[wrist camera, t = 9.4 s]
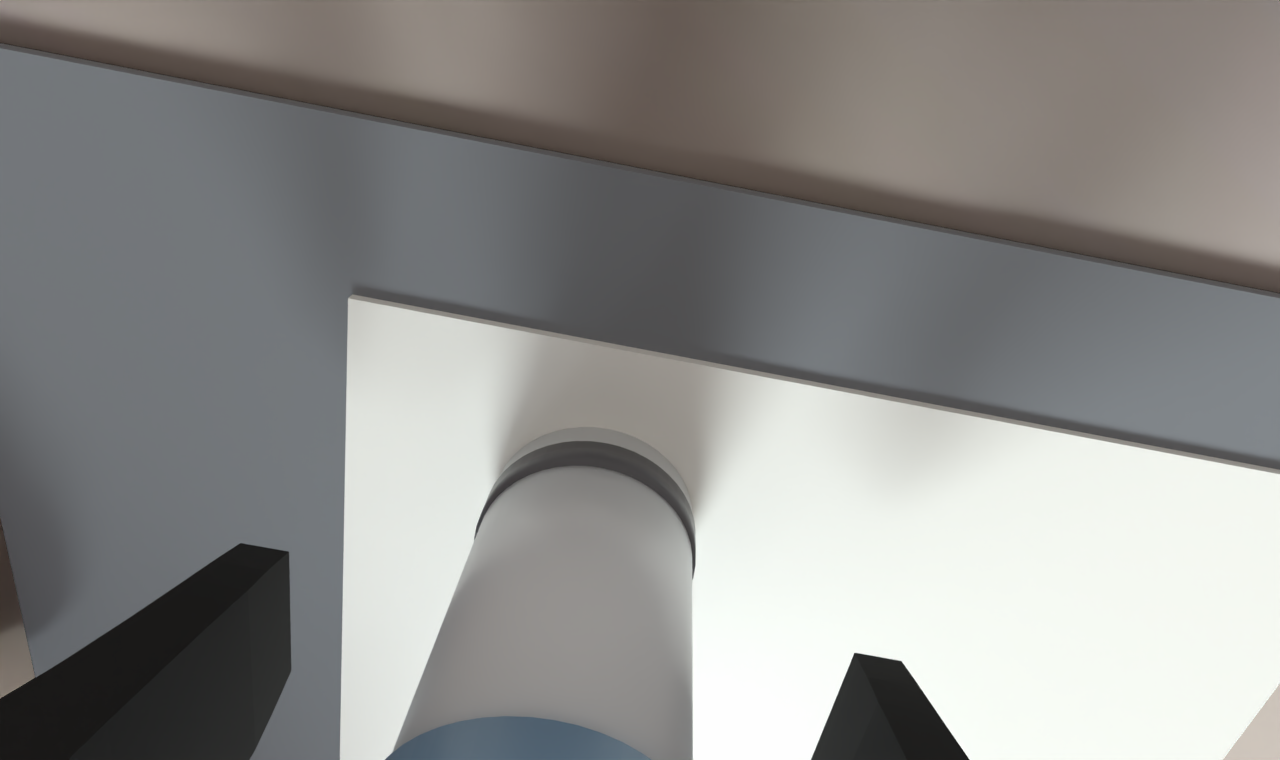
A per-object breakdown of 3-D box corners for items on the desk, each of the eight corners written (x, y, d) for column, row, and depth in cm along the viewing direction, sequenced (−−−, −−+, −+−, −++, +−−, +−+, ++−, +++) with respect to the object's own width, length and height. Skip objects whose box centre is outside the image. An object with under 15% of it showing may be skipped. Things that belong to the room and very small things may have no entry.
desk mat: (949, 1094, 21) (953, 1108, 21) (107, 956, 21) (99, 969, 20) (1499, 336, 11) (1519, 344, 11) (-88, 25, 11) (-108, 26, 10)
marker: (675, 612, 14) (659, 1294, 7) (478, 576, 14) (245, 1229, 7) (719, 443, 12) (760, 1088, 5) (498, 402, 12) (223, 1002, 5)
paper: (1074, 944, 18) (1077, 952, 17) (341, 819, 17) (338, 826, 17) (1408, 493, 12) (1417, 499, 12) (352, 294, 12) (347, 298, 12)
